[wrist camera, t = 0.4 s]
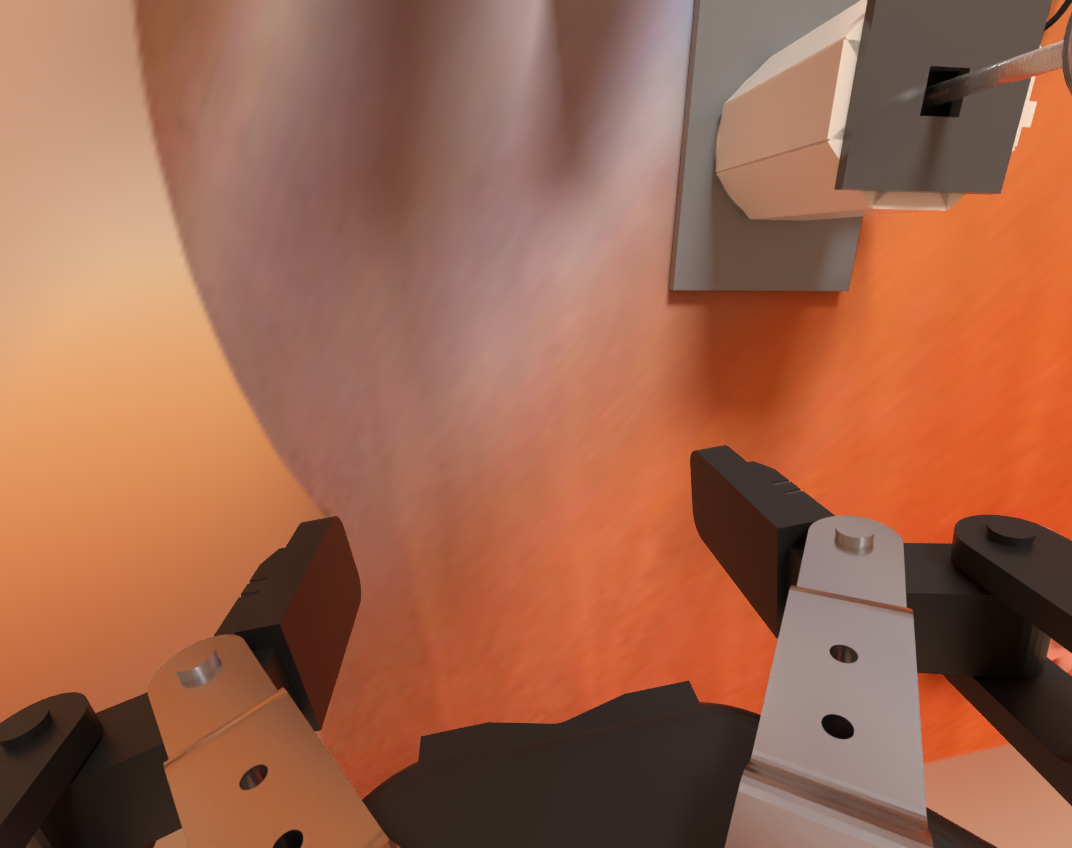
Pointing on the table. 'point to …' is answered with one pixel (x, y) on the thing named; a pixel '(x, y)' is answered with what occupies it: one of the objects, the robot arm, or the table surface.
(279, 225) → the table surface
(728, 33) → the slate board
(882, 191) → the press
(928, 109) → the plunger
